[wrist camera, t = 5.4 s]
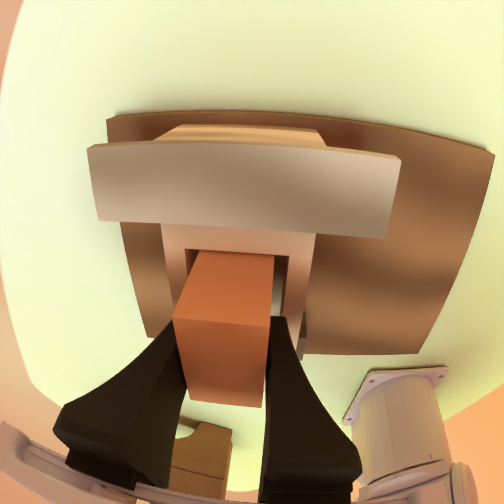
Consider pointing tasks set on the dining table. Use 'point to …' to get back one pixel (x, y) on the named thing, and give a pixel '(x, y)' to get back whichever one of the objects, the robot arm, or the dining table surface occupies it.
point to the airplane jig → (296, 217)
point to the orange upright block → (225, 326)
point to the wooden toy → (200, 463)
